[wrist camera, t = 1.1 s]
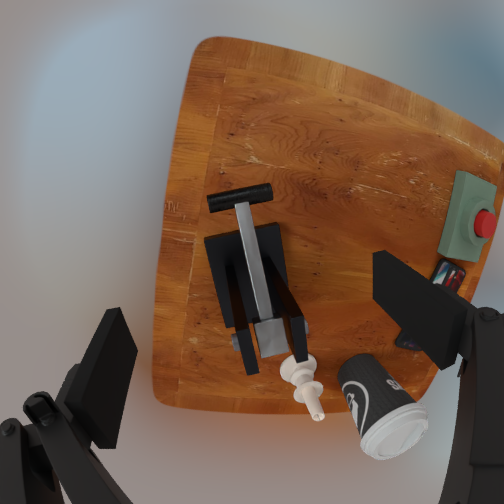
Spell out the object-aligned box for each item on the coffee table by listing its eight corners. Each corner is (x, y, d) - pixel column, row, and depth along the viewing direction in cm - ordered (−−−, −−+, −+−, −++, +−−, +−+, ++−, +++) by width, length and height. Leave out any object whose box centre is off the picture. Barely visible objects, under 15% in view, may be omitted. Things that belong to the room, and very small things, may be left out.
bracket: (203, 237, 33) (203, 295, 20) (276, 221, 34) (319, 269, 21) (225, 323, 37) (237, 406, 24) (289, 308, 38) (327, 383, 25)
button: (476, 207, 33) (485, 210, 32) (490, 212, 34) (498, 215, 32) (470, 233, 34) (479, 236, 33) (484, 236, 35) (492, 240, 33)
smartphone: (394, 346, 42) (443, 258, 38) (392, 344, 42) (440, 256, 39) (422, 352, 44) (467, 272, 40) (420, 350, 44) (465, 270, 40)
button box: (456, 169, 35) (475, 173, 31) (487, 184, 36) (505, 188, 33) (436, 251, 38) (454, 261, 35) (468, 257, 40) (485, 266, 36)
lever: (207, 198, 25) (205, 192, 23) (267, 185, 26) (271, 179, 23) (242, 353, 25) (243, 362, 23) (300, 339, 26) (306, 347, 23)
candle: (273, 378, 41) (291, 433, 31) (288, 349, 40) (310, 404, 30) (306, 382, 42) (328, 434, 32) (321, 355, 41) (349, 406, 31)
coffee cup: (361, 396, 45) (400, 461, 31) (316, 388, 43) (351, 465, 29) (394, 351, 43) (446, 414, 29) (350, 339, 41) (402, 412, 27)
